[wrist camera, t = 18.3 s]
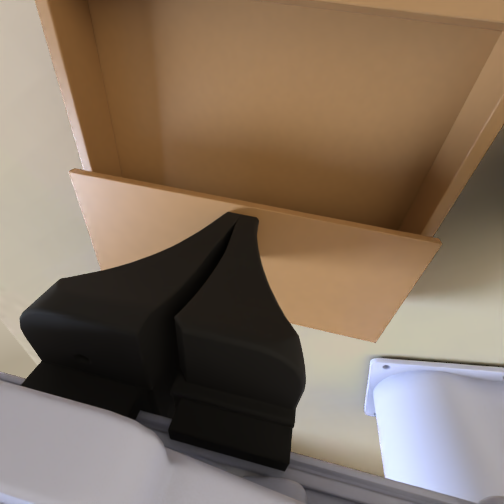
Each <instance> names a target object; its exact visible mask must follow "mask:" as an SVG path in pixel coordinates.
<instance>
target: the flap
mask: <svg viewBox="0 0 504 504" xmlns="http://www.w3.org/2000/svg"><path fill="white" fill-rule="evenodd" d="M69 175H70V178H71V181H72V184H73V187H74V190H75V193H76V196H77V199H78V202H79V205H80V208H81V211H82V214H83V217H84V220H85V223H86V226H87V229H88V232H89V235H90V238H91V241H92V244H93V247H94V250H95V253H96V257H97V260H98V263H99V266H100V269H101V271H102V270H106V269H110V268H114V267H117V266H121V265H124V264H128V263H131V262H134V261H137V260H140V259H142V258H145V257H148V256H151V255H153V254H156V253H158V252H161V251H163V250H165V249H167V248H170V247H172V246H174V245H176V244H178V243H180V242H182V241H183V240H185V239H187V238H189V237H190V236H192V235H194V234H195V233H197V232H199V231H200V230H202V229H203V228H205V227H206V226H208V225H209V224H211V223H212V222H213V221H215V220H216V219H218V218H219V217H221V216H222V215H223V214H225V213H227V212H232V213H237V214H242V215H248V216H253V217H257V218H258V220H259V225H258V232H257V240H258V248H259V253H260V258H261V262H262V266H263V269H264V272H265V275H266V278H267V280H268V283H269V285H270V288H271V290H272V292H273V294H274V296H275V298H276V300H277V302H278V304H279V306H280V308H281V309H282V311H283V313H284V315H285V316H286V318H287V319H288V321H289V323H292V324H296V325H300V326H305V327H309V328H313V329H318V330H322V331H326V332H331V333H335V334H339V335H344V336H348V337H352V338H357V339H361V340H365V341H370V342H374V343H376V341H377V340H378V338H379V337H380V335H381V334H382V333H383V331H384V330H385V328H386V327H387V325H388V324H389V322H390V321H391V319H392V318H393V316H394V315H395V313H396V312H397V310H398V309H399V307H400V306H401V304H402V303H403V302H404V300H405V299H406V297H407V296H408V294H409V293H410V291H411V290H412V288H413V287H414V285H415V284H416V282H417V281H418V279H419V278H420V276H421V275H422V273H423V272H424V271H425V269H426V268H427V266H428V265H429V263H430V262H431V260H432V259H433V257H434V256H435V254H436V253H437V251H438V250H439V248H440V247H441V245H442V243H441V241H440V239H438V238H434V237H429V236H423V235H418V234H413V233H408V232H403V231H397V230H392V229H387V228H382V227H377V226H371V225H366V224H361V223H356V222H351V221H346V220H340V219H335V218H330V217H325V216H320V215H314V214H309V213H304V212H299V211H294V210H288V209H283V208H278V207H273V206H268V205H263V204H257V203H252V202H247V201H242V200H237V199H231V198H226V197H221V196H216V195H211V194H205V193H200V192H195V191H190V190H185V189H180V188H174V187H169V186H164V185H159V184H154V183H148V182H143V181H138V180H133V179H128V178H122V177H117V176H112V175H107V174H102V173H97V172H91V171H86V170H81V169H76V168H74V169H72V170H70V171H69Z"/></svg>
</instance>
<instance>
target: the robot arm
mask: <svg viewBox="0 0 504 504" xmlns="http://www.w3.org/2000/svg"><path fill="white" fill-rule="evenodd" d="M258 225H259V220H258V218H257V217H253V216H248V215H242V214H237V213H232V212H227V213H225V214H223V215H222V216H221V217H219V218H218V219H216V220H215V221H213V222H212V223H211V224H209V225H208V226H206V227H205V228H203V229H202V230H200V231H199V232H197V233H195V234H194V235H192V236H190V237H189V238H187V239H185V240H183V241H182V242H180V243H178V244H176V245H174V246H172V247H170V248H167V249H165V250H163V251H161V252H158V253H156V254H153V255H151V256H148V257H145V258H142V259H140V260H137V261H134V262H131V263H128V264H124V265H121V266H117V267H114V268H110V269H106V270H102V271H98V272H93V273H88V274H83V275H78V276H73V277H68V278H62V279H60V280H58V281H57V282H56V283H55V284H54V285H53V286H52V287H50V288H49V289H48V290H47V291H46V292H45V293H44V294H43V295H41V296H40V297H39V298H38V299H37V300H36V301H35V302H34V303H33V304H31V305H30V306H29V307H28V308H27V309H26V310H25V311H24V312H23V313H22V315H21V316H20V327H21V330H22V332H23V334H24V336H25V337H26V338H27V340H28V341H29V343H30V344H31V346H32V347H33V349H34V350H35V351H36V353H37V354H38V356H39V357H40V359H41V360H42V361H41V363H40V364H39V365H38V366H37V367H36V368H35V369H34V371H33V372H32V373H31V374H30V375H29V376H28V377H27V378H26V379H25V378H21V377H18V376H14V375H11V374H7V373H3V372H0V504H504V367H491V366H478V365H465V364H452V363H439V362H426V361H413V360H400V359H387V358H374V359H372V360H371V361H370V368H369V376H368V383H367V390H366V398H365V405H364V412H365V414H366V415H368V416H375V417H376V420H377V427H378V434H379V440H380V447H381V454H382V461H383V468H384V475H385V478H384V477H381V476H377V475H373V474H370V473H366V472H362V471H359V470H355V469H352V468H348V467H344V466H341V465H337V464H333V463H330V462H326V461H323V460H319V459H315V458H312V457H308V456H304V455H301V454H297V453H294V452H291V439H292V428H293V427H294V423H295V412H296V407H297V404H298V402H299V400H300V398H301V396H302V394H303V392H304V389H305V384H306V375H305V364H304V358H303V353H302V348H301V344H300V339H299V336H298V334H297V333H296V331H295V330H294V328H293V327H292V326H291V324H290V323H289V321H288V319H287V318H286V316H285V315H284V313H283V311H282V309H281V308H280V306H279V304H278V302H277V300H276V298H275V296H274V294H273V292H272V290H271V288H270V285H269V283H268V280H267V278H266V275H265V272H264V269H263V266H262V262H261V258H260V253H259V248H258V240H257V232H258Z"/></svg>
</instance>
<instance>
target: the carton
mask: <svg viewBox="0 0 504 504" xmlns="http://www.w3.org/2000/svg"><path fill="white" fill-rule="evenodd" d="M35 3H36V6H37V10H38V13H39V17H40V20H41V24H42V27H43V31H44V34H45V38H46V41H47V45H48V48H49V52H50V55H51V59H52V62H53V66H54V69H55V73H56V76H57V80H58V83H59V87H60V90H61V94H62V97H63V101H64V104H65V108H66V111H67V115H68V118H69V122H70V125H71V129H72V132H73V136H74V139H75V143H76V146H77V150H78V153H79V157H80V160H81V164H82V167H83V170H86V171H91V172H97V173H102V174H107V175H112V176H117V177H122V178H128V179H133V180H138V181H143V182H148V183H154V184H159V185H164V186H169V187H174V188H180V189H185V190H190V191H195V192H200V193H205V194H211V195H216V196H221V197H226V198H231V199H237V200H242V201H247V202H252V203H257V204H263V205H268V206H273V207H278V208H283V209H288V210H294V211H299V212H304V213H309V214H314V215H320V216H325V217H330V218H335V219H340V220H346V221H351V222H356V223H361V224H366V225H371V226H377V227H382V228H387V229H392V230H397V231H403V232H408V233H413V234H418V235H423V236H429V237H433V236H434V234H435V233H436V231H437V230H438V228H439V226H440V225H441V223H442V222H443V220H444V218H445V217H446V215H447V214H448V212H449V211H450V209H451V207H452V206H453V204H454V203H455V201H456V199H457V198H458V196H459V195H460V193H461V191H462V190H463V188H464V187H465V185H466V184H467V182H468V180H469V179H470V177H471V176H472V174H473V172H474V171H475V169H476V168H477V166H478V164H479V163H480V161H481V160H482V158H483V156H484V155H485V153H486V152H487V150H488V149H489V147H490V145H491V144H492V142H493V141H494V139H495V137H496V136H497V134H498V133H499V131H500V129H501V128H502V126H503V125H504V0H35Z"/></svg>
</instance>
